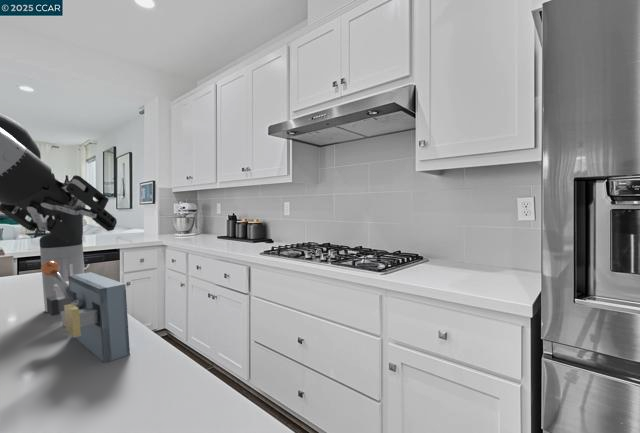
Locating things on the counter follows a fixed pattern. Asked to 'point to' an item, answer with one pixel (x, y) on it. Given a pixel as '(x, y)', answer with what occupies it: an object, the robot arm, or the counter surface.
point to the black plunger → (56, 304)
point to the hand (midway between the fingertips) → (92, 232)
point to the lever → (61, 282)
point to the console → (103, 315)
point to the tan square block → (79, 318)
